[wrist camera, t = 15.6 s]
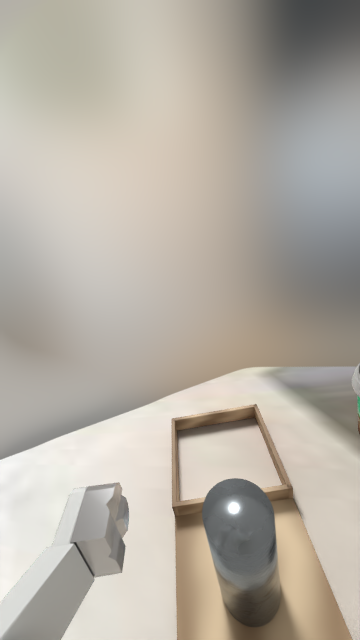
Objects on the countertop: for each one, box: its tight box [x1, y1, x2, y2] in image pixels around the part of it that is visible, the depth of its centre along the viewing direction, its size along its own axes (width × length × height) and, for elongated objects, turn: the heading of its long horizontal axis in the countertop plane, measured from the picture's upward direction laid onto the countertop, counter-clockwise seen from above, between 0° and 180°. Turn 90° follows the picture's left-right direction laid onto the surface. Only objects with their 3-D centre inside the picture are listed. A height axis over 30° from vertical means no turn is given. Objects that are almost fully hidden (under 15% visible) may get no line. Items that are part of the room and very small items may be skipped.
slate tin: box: [202, 478, 281, 627], centre depth 23 cm, size 6×6×11 cm
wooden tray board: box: [172, 404, 352, 640], centre depth 31 cm, size 14×28×2 cm, turn 2°
